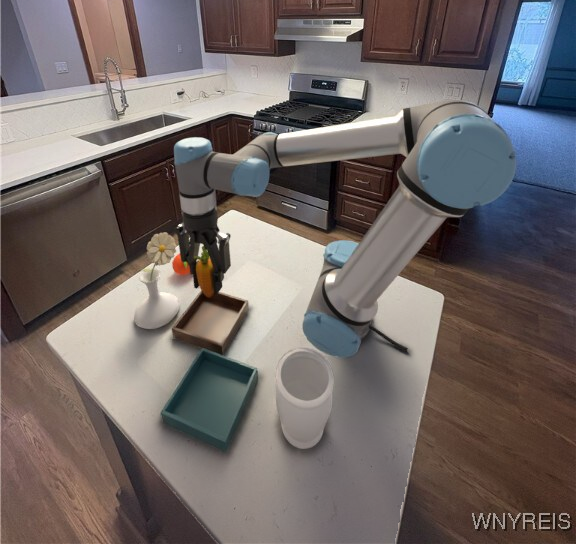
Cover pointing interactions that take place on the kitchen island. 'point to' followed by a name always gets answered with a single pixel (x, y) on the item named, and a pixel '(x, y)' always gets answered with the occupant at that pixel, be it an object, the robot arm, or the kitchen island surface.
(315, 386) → the jar
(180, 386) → the tray
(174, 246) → the flower in vase
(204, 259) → the carrot
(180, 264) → the clementine
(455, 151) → the robot arm
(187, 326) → the tray
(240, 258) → the kitchen island surface
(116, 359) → the kitchen island surface
